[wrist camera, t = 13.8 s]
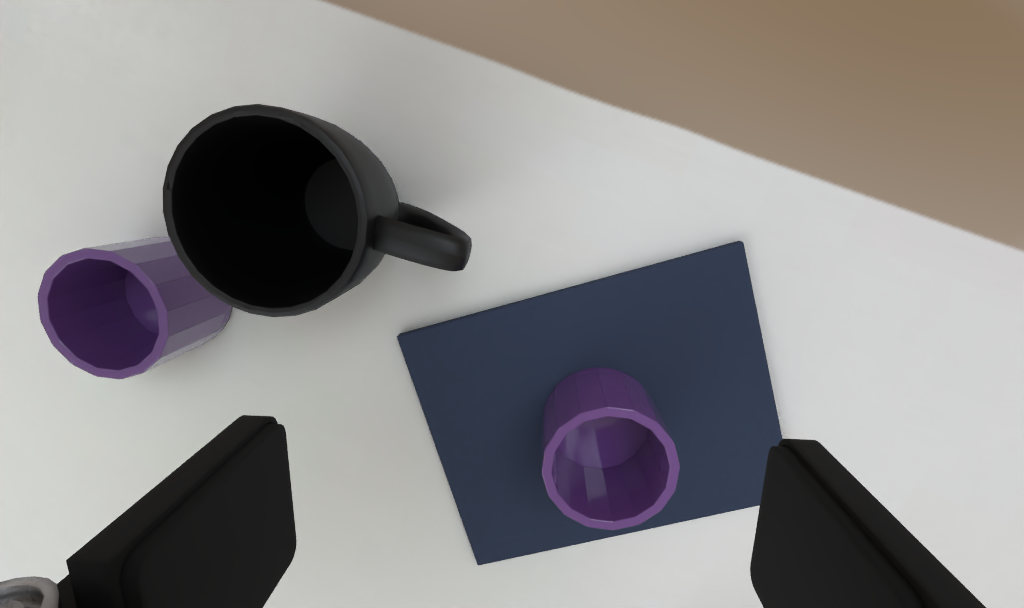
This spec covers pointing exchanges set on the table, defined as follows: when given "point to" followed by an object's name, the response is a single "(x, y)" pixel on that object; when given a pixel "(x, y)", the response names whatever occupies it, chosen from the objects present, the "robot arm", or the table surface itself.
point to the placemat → (609, 344)
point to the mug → (291, 212)
